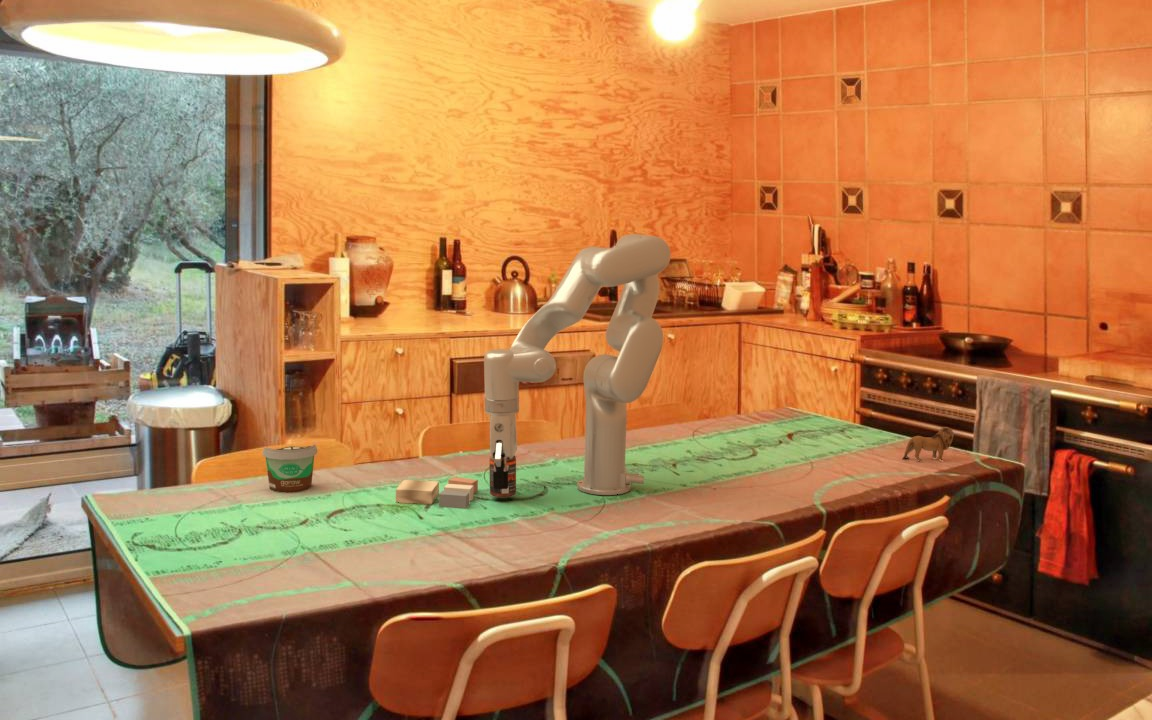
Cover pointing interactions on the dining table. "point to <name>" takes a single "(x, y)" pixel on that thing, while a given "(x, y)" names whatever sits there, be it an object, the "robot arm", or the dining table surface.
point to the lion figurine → (931, 443)
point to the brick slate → (454, 499)
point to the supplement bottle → (511, 479)
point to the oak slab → (417, 491)
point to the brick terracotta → (464, 482)
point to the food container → (290, 468)
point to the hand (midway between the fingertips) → (502, 483)
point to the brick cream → (460, 489)
